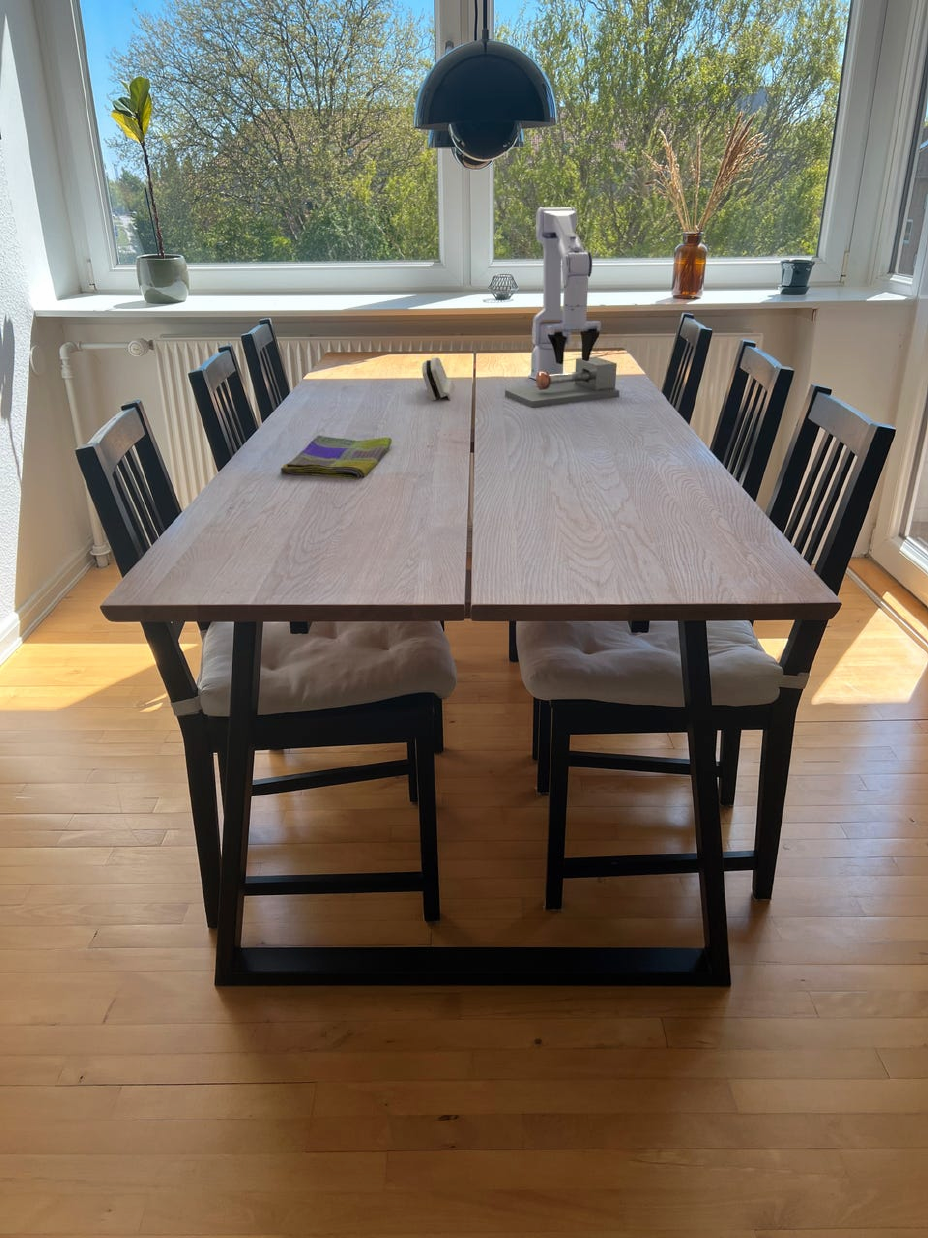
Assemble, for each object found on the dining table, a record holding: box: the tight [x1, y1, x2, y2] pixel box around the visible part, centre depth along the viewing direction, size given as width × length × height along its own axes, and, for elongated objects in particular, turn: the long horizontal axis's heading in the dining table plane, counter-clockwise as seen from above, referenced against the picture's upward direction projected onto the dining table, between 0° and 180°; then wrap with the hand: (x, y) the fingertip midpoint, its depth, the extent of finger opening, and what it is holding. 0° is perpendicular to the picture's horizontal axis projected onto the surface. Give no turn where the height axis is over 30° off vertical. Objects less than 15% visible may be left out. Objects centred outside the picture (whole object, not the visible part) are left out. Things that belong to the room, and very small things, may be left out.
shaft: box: [535, 371, 589, 390], centre depth 240 cm, size 4×15×4 cm, turn 116°
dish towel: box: [280, 434, 393, 479], centre depth 192 cm, size 18×24×3 cm
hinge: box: [421, 357, 455, 401], centre depth 244 cm, size 17×5×10 cm, turn 178°
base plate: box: [504, 382, 620, 408], centre depth 241 cm, size 14×26×2 cm, turn 116°
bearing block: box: [574, 356, 618, 391], centre depth 243 cm, size 10×6×6 cm, turn 26°
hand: (572, 361), depth 232 cm, fingers open, 7 cm apart
